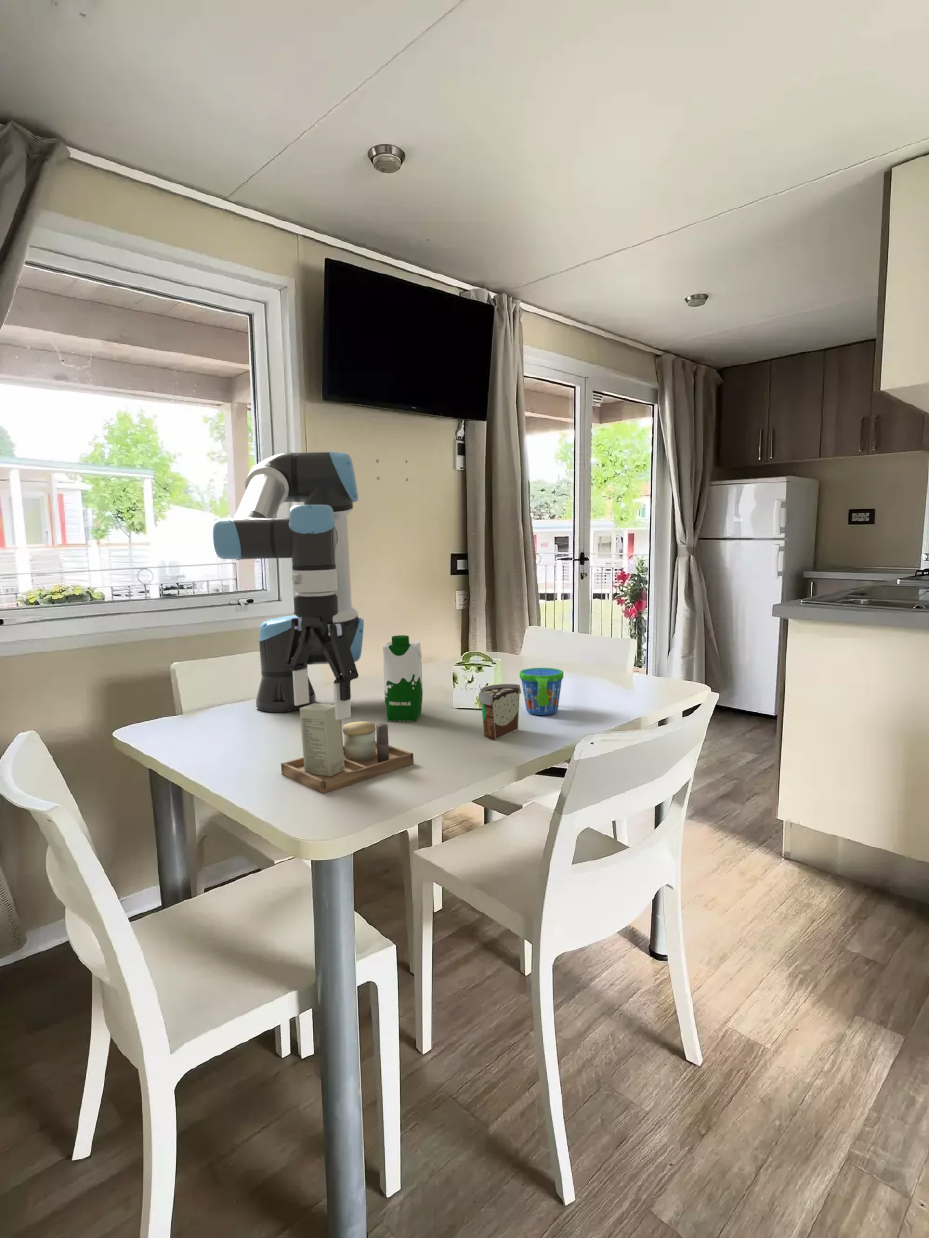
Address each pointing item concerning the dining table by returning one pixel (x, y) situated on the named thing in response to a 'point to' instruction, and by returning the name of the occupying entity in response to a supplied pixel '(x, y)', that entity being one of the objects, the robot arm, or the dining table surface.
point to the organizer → (355, 758)
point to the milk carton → (402, 679)
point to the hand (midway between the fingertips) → (321, 710)
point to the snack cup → (541, 689)
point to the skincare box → (321, 740)
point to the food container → (500, 709)
